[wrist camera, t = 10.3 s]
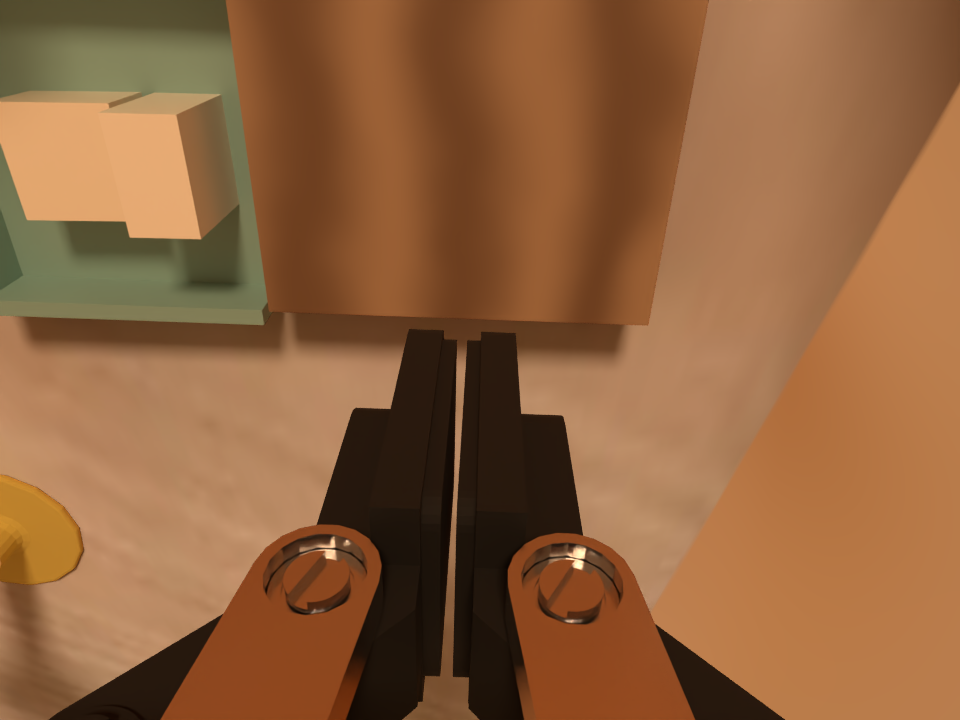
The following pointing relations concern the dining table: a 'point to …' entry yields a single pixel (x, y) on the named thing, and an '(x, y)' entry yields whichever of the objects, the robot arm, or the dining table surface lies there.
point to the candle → (35, 535)
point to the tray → (106, 244)
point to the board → (464, 152)
